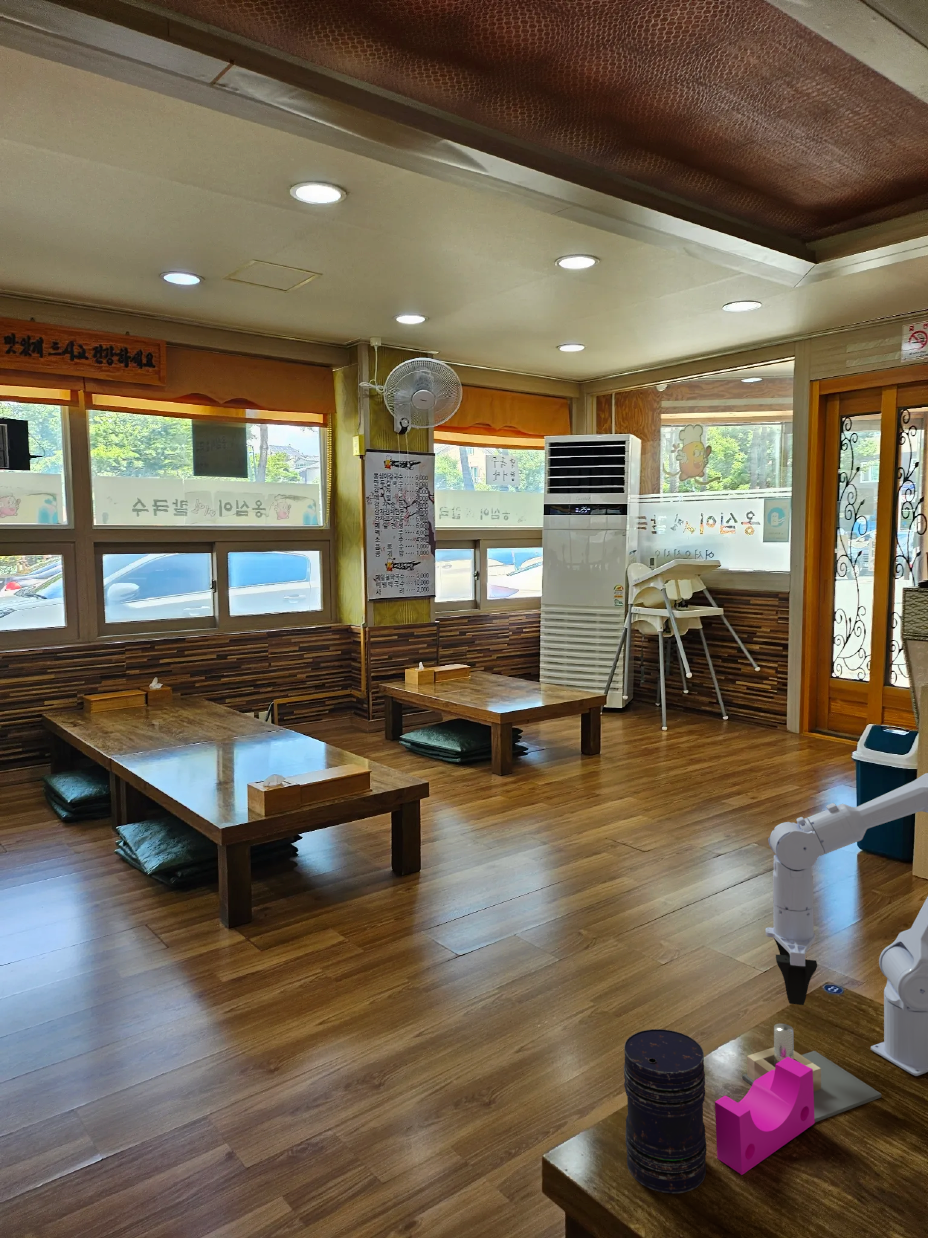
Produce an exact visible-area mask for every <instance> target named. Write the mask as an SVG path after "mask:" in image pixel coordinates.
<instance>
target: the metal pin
mask: <svg viewBox="0 0 928 1238" xmlns="http://www.w3.org/2000/svg"><path fill="white" fill-rule="evenodd" d="M794 1044H795V1043H794V1028H793V1027H792V1026H791V1025H789V1024H787V1023H783V1022H782V1023H776V1024H774V1026H773V1047H774V1067H775V1064H776V1063H778V1062H780V1061H781V1060H783V1059H785V1058H786V1057H790V1058H792V1059H794V1051H795V1050H794V1047H795V1046H794Z"/></svg>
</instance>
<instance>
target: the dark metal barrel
mask: <svg viewBox="0 0 928 1238" xmlns="http://www.w3.org/2000/svg"><path fill="white" fill-rule="evenodd" d="M623 1046H624V1052H623V1053H624V1065H623V1073H624V1075H623V1078H624V1082H623V1083H624V1084H623V1086H624V1091H625V1094H626V1097H627V1115H626V1118H625V1134H624V1135H625V1146H626V1164H627V1169H628V1171H629V1173H630V1174H631V1176H632V1177H633V1178H634V1179H635V1181H637V1182H639V1184H641V1185H643V1186H644V1187H646V1188H648V1189H650V1190H653V1191H656V1192H659V1193H664V1194H683V1193H686V1192H690V1191H693V1190H695V1189H697V1188H698V1187H699V1186H700V1185H701V1184H702V1183H703V1182H704V1181H705V1177H706V1175H707V1174H706V1173H707V1169H706V1168H707V1167H706V1160H707V1157H706V1156H707V1139H706V1126H705V1124H704V1123H705V1122H704V1113H703V1112H704V1102H705V1098H706V1087H705V1086H706V1073H705V1064H704V1063H705V1062H704V1061H705V1055H704V1054H705V1053H704V1049H703V1047H702V1046H701V1045H700V1043H698V1042H697V1040H695V1039H694V1038H693V1037H690V1036H689V1035H686V1034H685V1033H682V1032H679V1031H674V1030H671V1029H669V1030H668V1029H661V1028H655V1029H654V1028H653V1029H651V1028H650V1029H646V1030H641V1031H638V1032H635V1033H633V1034H631V1036H629V1037H628V1038H627V1039H626V1041H625V1042H624V1045H623Z"/></svg>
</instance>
